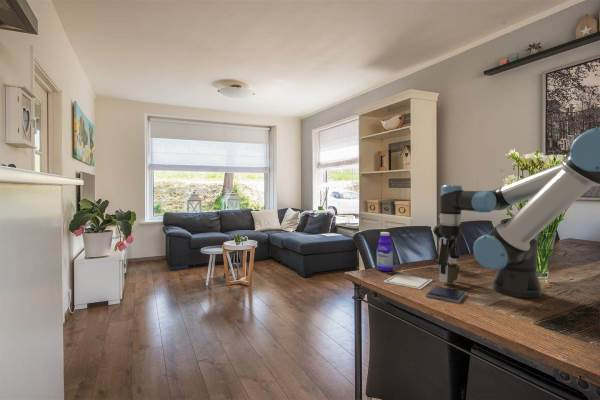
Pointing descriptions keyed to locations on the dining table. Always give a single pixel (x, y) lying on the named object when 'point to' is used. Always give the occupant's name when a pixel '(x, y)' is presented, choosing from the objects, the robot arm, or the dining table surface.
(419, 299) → the dining table surface
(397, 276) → the print sheet
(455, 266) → the cup
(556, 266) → the dining table surface
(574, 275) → the dining table surface
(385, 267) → the bottle
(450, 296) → the ink pad
